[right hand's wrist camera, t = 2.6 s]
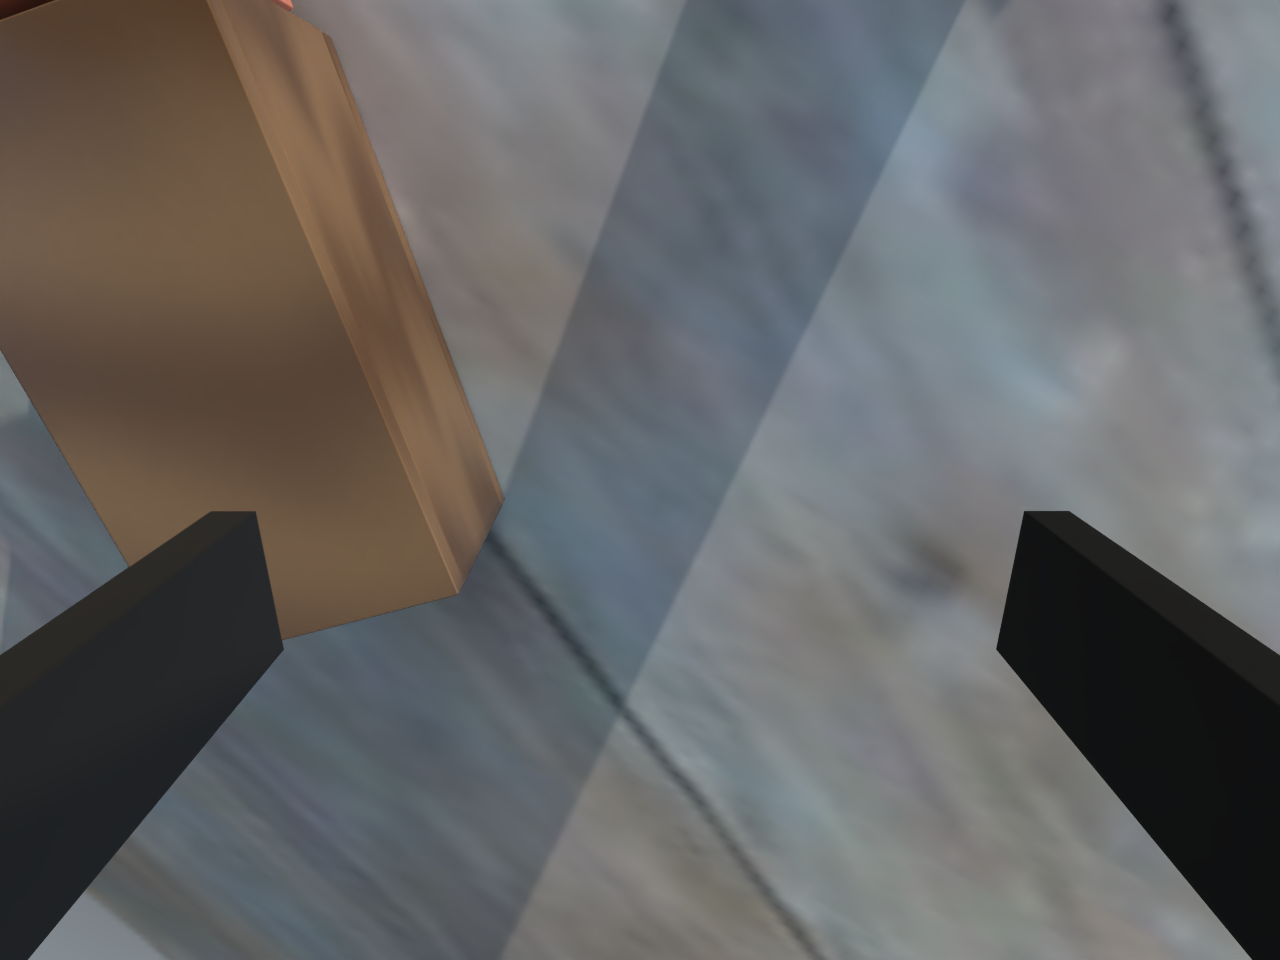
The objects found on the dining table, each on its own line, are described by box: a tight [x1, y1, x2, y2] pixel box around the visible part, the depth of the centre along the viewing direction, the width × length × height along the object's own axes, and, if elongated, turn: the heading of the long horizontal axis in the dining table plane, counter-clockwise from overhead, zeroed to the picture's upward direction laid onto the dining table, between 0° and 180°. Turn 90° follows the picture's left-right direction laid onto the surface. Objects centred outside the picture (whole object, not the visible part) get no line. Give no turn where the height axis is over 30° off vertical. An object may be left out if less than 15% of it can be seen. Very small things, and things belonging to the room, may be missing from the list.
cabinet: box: [0, 0, 504, 640], centre depth 25 cm, size 19×10×9 cm, turn 16°
